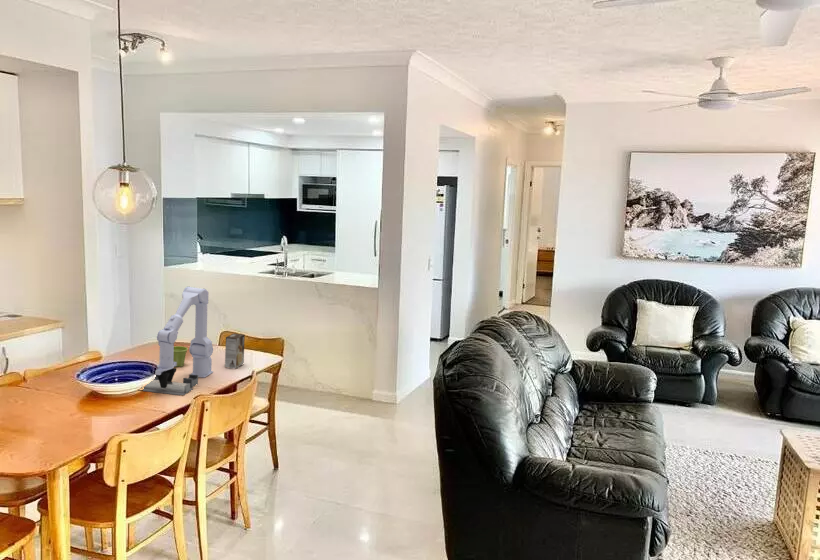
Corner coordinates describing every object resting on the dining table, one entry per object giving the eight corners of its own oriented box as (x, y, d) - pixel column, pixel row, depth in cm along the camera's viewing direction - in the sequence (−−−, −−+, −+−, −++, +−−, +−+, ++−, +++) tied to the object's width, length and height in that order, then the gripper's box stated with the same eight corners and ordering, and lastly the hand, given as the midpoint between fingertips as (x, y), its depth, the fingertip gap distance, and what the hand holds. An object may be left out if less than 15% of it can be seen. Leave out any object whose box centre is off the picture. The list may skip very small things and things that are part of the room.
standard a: (189, 383, 278) (189, 374, 278) (197, 383, 278) (198, 375, 277) (183, 387, 272) (183, 378, 272) (191, 388, 272) (191, 379, 271)
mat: (149, 384, 272) (149, 383, 272) (193, 389, 270) (193, 388, 270) (137, 390, 264) (137, 389, 263) (183, 395, 261) (183, 395, 261)
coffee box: (232, 363, 314) (233, 332, 311) (244, 364, 313) (245, 334, 310) (224, 367, 305) (225, 336, 302) (236, 369, 304) (237, 338, 302)
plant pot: (191, 364, 306) (191, 347, 305) (179, 369, 297) (180, 352, 296) (175, 361, 308) (175, 345, 307) (163, 366, 299) (163, 349, 298)
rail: (146, 385, 270) (146, 378, 269) (190, 390, 268) (190, 383, 267) (141, 387, 266) (141, 380, 266) (186, 393, 264) (186, 386, 263)
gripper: (166, 351, 272) (165, 380, 274) (148, 359, 258) (148, 390, 260) (181, 353, 271) (180, 382, 273) (164, 361, 257) (163, 392, 259)
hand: (165, 386), depth 267 cm, fingers closed on rail, 4 cm apart
